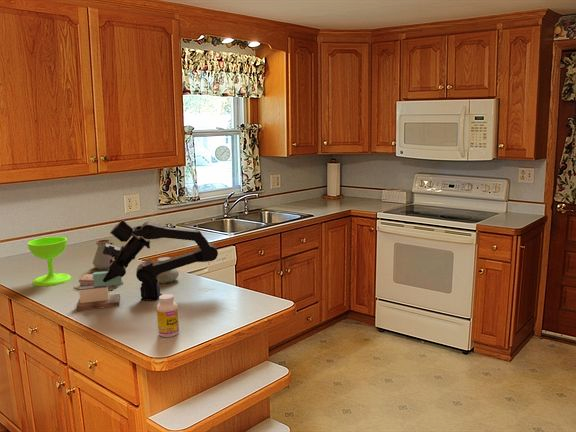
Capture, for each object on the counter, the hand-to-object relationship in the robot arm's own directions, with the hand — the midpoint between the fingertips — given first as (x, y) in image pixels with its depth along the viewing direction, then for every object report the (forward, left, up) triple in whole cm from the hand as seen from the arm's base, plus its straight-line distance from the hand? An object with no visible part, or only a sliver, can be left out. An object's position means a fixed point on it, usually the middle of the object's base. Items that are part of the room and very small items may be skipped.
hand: (103, 280), depth 209 cm
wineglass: (+37, -28, -9) cm, 47 cm away
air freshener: (-15, -27, -9) cm, 32 cm away
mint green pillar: (-1, 0, -2) cm, 2 cm away
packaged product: (+12, -20, -10) cm, 26 cm away
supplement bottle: (-34, +28, -9) cm, 45 cm away
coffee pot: (+18, -44, -9) cm, 48 cm away
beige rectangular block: (+4, +1, -8) cm, 9 cm away
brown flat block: (+2, +1, -9) cm, 9 cm away
